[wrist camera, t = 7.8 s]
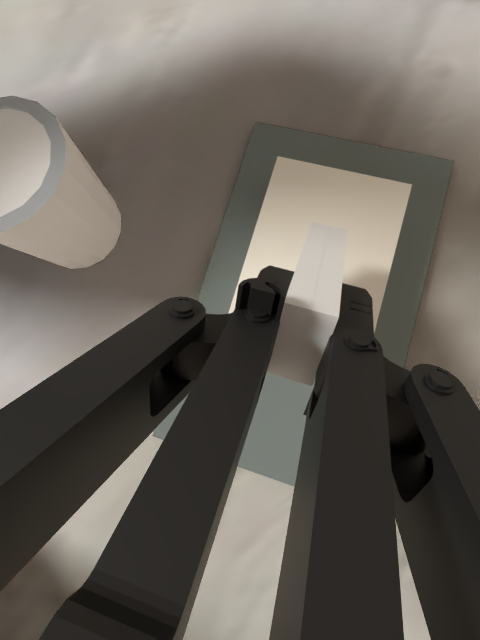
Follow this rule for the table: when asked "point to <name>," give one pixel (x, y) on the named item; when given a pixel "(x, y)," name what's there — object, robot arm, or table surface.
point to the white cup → (50, 191)
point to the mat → (401, 290)
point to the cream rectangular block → (329, 222)
